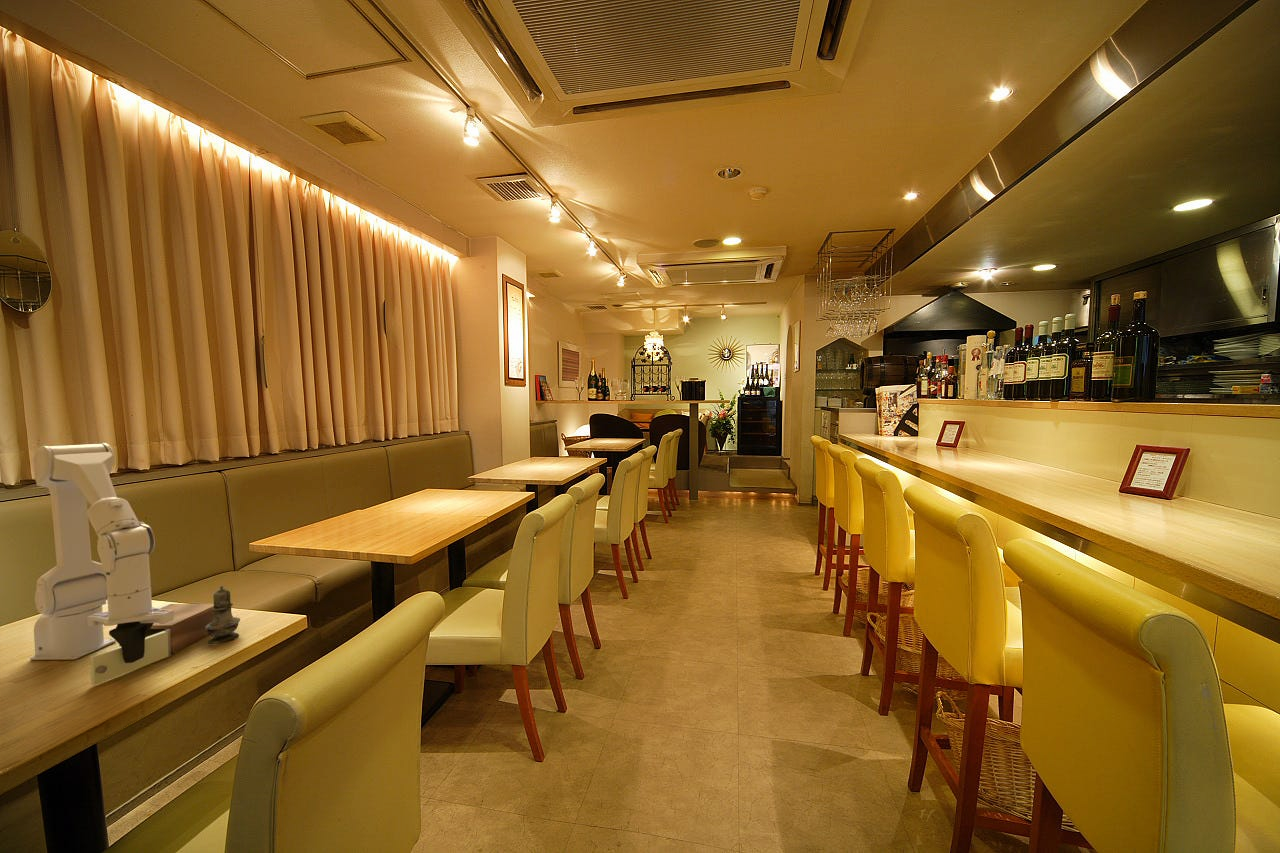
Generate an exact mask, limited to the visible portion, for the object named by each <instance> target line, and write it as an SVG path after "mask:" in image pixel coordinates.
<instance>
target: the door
mask: <svg viewBox="0 0 1280 853" xmlns="http://www.w3.org/2000/svg"><path fill="white" fill-rule="evenodd" d="M89 657H90V659H89V661H90V680H91V681H90V682H91V685H93V686H97V685H99V684H102V683H105V682H107V681H110V680H112V679H114V678H117V677H119V676H122V675H124V674H125V675H126V674H127V673H130V672H132V671H135V670H137V669H139V668H142V667H145V666H148V665H150V664H152V663H155V662H158V661H161V660H163V659H165V658H166V659H168V658H171V657H172V655H171V642H170V629H168V630H165V631H162V632H160V633H157V634H154V635H151V636H148V637H146V638H145V652H144V657H143V658H141V659H139V660H137V661H135V662H133V663H125V661H124V659H123V653H122V647H121V646H116V647H114V648H110V649H109V650H105V651H102V652H99V653H96V654H94V655H91V656H89Z"/></svg>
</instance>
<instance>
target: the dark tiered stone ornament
mask: <svg viewBox="0 0 1280 853" xmlns="http://www.w3.org/2000/svg"><path fill="white" fill-rule="evenodd" d="M212 598H213V604H214V607H212V610H214V618H213V622H211V623H209V624H208V625H207V626H206V627H205V629H207V632H208V633H209V635H210V636H211V638H210V639H209V640H208V641H207V644H208V645H210V646H218V645H222V644H226V643H230V642H232V641H235V640H236V639H238V638H239V636H240V633H238V632H235V631H236V630H237V629H238V626H239V623H240V621H241V618H240V617H237V616H236V617H234V616H233V613H232V606H234V604H233V603H232V602H231V590H229V589H225V588H224V586H223V585H220V587H219V589H218V590H217V591H215V592H214V593H213V597H212Z"/></svg>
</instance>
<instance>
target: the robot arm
mask: <svg viewBox="0 0 1280 853" xmlns="http://www.w3.org/2000/svg"><path fill="white" fill-rule="evenodd" d="M32 460H33V472H34V474H33V476H34V481H35V483H36V486H38V487H44V488H47V489H48V492H49V494H50V502H51V512H52V524H53V525H52V526H53V536H54V549H55V561H56V565H55V566H54V567H52V568H51V569H49V570H48V571H47V572H45V573H44V574H42V575H41V576H40V577H38V579H37V581H36V590H35V593H34V602H35V607H36V610H37V612H38V613H40V614H41V616H39V618H38V619H37V620H36V622H35V624H34V626H33V638H34V655H32V656H30V657H29V660H30V661H31V660H32V661H33V660H34V661H35V660H37V661H38V660H43V661H44V660H45V661H46V660H47V661H49V660H51V661H53V660H67V661H68V660H77V659H80V658H81V657H84V656H87V655H88V654H90V653H93V652H94V651H97V650H100V649H103V648H104V647H106V646H108V645H111V644H113V643H115V642H117V644H118V645H120V646H121V647H122V653H123V659H124V661H125V663H133V662H135V661H137V660H139V659H141V658H143V657H144V652H145V638H146V635H147V633H148V632H149V630H150V628H151V627H152V625H153V624H154V623H159V624H165V623H167V622H170V621H172V620H174V611H173V610H164V609H160V608H159V607H153V602H152V586H151V583H152V582H151V572H150V571H151V569H150V554H151V553H153V552H154V550H155V547H156V538H155V533H154V531H153V529H152V527H151V526H150V525H149V524H146V523H145V522H144V521H139V519H138V518H137V516H136V513H135V512H134V510H133V508H132V507H131V505H130V502H129V501H128V500H127V499H125V498H122V497H118V496H117V493H116V490H115V487H114V485H113V482H112V479H111V476H110V474H112V470H113V468H114V465H115V462H116V456H115V452H114V449H113V448H112V446H111V445H110V444H108V443H106V442H101V443H92V444H91V443H90V444H74V445H72V444H71V445H70V444H69V445H68V444H67V445H52V446H51V445H49V446H48V445H41V446H39V447H38V448H37V449H36V450H35V451H34V456H33V459H32ZM87 502H88V503H89V505H90V506H89V507H88V503H87ZM89 523H90V524H91V526H92V527H93V529H94V531H95V534H96V535H97V538H98V539H97V544H96V545H97V546H96V547H97V548H96V549H97V554H98V557H99V560H100V562H98V561H95V560H92V549H91V548H92V547H91V535H90V524H89ZM106 604H107V610H108V611H103V605H106ZM108 626H109V627H110V626H111V627H112V626H115V628H113V629H110V630H109V631H108V635H109V636H110V637H112V638H104V627H108Z"/></svg>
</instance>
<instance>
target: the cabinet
mask: <svg viewBox="0 0 1280 853" xmlns="http://www.w3.org/2000/svg"><path fill="white" fill-rule="evenodd" d="M212 607H214V603H170V604H168V605H165V606H163V607H160V608H159V609H164V610H173V611H174V620H172V621H170V622H167V623H165V624H159V623H154V624H153V625H152V627H151V628H150V630H149V632H148V633H147V635H146V637H148V636H151V635H154V634H157V633H160V632H162V631H165V630H168V629H170V642H171V656H173V655H176V654H177V653H180V652H182V651H183V650H186V649H187V648H189V647H190V646H193V645H195V644H197V643H198V642H201V641H203V640H205V639H206V638H208V637H210V636H211V635H209V633H208V632H207V629H205V627H206V626H207V625H208V624H209V623H211V622H213V618H214V610H212ZM118 645H119V644H118ZM119 646H120V645H119ZM119 646H118V647H119Z"/></svg>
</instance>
